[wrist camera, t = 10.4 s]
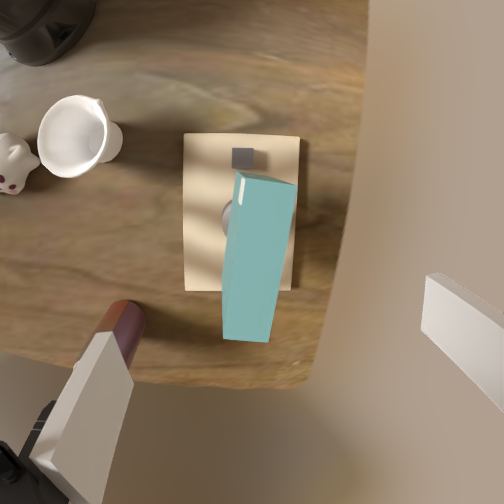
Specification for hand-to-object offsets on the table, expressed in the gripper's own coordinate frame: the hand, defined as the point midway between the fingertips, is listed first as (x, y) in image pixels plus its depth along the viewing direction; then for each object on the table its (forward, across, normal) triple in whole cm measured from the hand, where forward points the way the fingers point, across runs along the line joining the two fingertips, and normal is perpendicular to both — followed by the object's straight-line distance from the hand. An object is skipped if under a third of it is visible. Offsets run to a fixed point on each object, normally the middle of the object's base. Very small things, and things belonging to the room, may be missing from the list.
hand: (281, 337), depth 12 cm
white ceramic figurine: (+30, -32, +13) cm, 46 cm away
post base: (+30, 0, 0) cm, 30 cm away
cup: (+30, -16, +13) cm, 36 cm away
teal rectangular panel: (+22, 0, 0) cm, 22 cm away
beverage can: (+30, -18, -12) cm, 37 cm away
